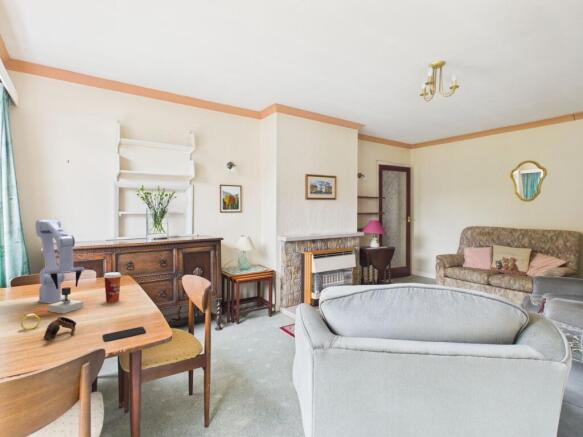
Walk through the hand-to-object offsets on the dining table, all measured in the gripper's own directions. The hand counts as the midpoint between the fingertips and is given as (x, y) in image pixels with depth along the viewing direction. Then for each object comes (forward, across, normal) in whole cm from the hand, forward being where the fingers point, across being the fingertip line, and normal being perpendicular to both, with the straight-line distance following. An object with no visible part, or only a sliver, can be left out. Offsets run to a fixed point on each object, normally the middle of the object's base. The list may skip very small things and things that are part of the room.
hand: (66, 287), depth 151 cm
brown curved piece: (+14, -2, -36) cm, 38 cm away
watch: (+12, -12, -20) cm, 26 cm away
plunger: (+7, -1, 0) cm, 7 cm away
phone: (+15, +19, -47) cm, 53 cm away
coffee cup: (+11, +20, +4) cm, 23 cm away
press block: (+11, -1, +1) cm, 11 cm away
